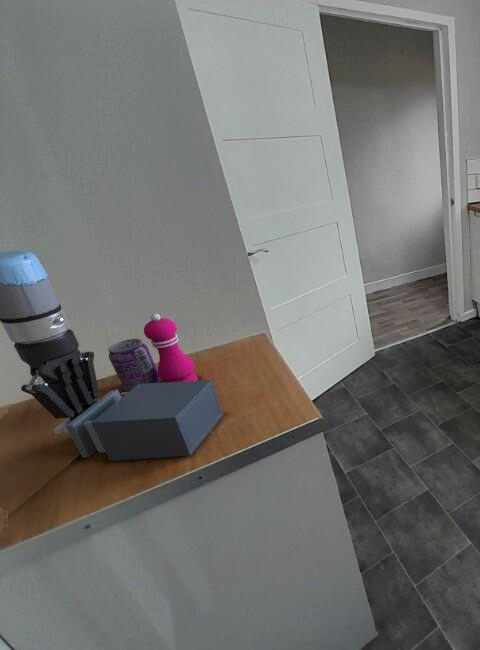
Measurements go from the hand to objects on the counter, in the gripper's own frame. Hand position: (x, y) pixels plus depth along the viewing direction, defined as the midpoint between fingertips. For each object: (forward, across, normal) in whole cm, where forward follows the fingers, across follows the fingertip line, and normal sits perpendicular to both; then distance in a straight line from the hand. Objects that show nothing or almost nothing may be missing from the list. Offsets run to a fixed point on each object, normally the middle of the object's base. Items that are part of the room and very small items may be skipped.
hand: (93, 435), depth 84 cm
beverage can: (+2, +20, +4) cm, 20 cm away
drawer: (+1, 0, -6) cm, 6 cm away
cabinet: (+2, 0, -14) cm, 14 cm away
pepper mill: (+2, +20, -5) cm, 21 cm away
